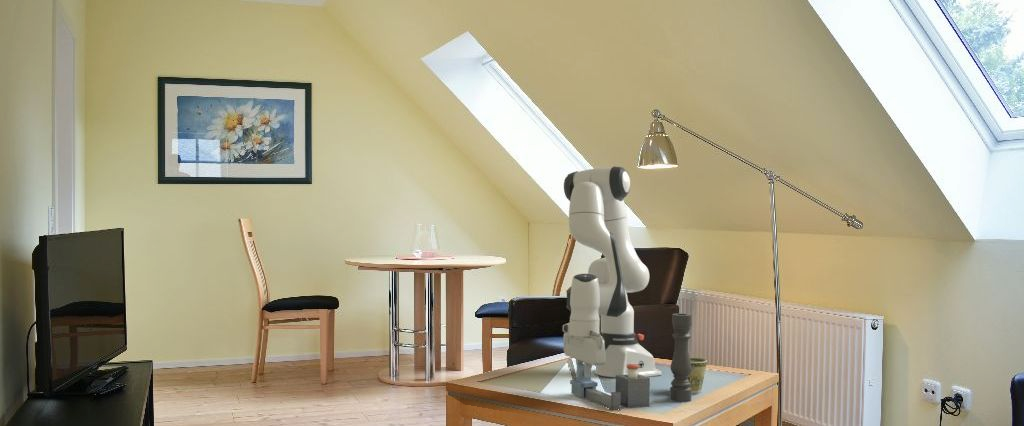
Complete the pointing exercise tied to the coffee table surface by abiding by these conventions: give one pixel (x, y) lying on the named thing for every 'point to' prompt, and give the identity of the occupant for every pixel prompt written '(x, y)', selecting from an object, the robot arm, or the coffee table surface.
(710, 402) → the coffee table surface
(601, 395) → the rail
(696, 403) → the coffee table surface
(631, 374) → the gauge button
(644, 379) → the cabinet
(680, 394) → the candle holder
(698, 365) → the ceramic cup
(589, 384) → the carriage
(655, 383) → the coffee table surface
